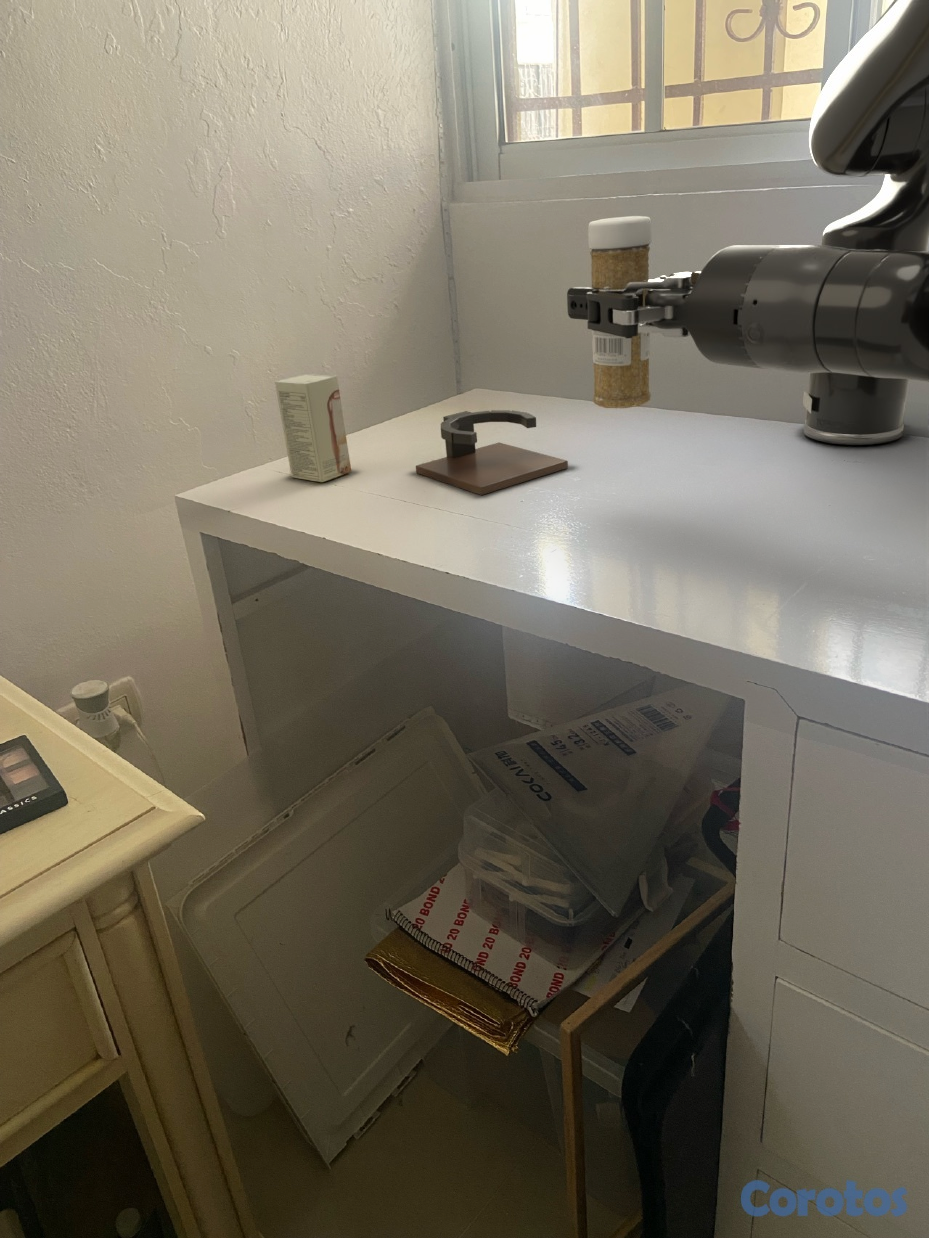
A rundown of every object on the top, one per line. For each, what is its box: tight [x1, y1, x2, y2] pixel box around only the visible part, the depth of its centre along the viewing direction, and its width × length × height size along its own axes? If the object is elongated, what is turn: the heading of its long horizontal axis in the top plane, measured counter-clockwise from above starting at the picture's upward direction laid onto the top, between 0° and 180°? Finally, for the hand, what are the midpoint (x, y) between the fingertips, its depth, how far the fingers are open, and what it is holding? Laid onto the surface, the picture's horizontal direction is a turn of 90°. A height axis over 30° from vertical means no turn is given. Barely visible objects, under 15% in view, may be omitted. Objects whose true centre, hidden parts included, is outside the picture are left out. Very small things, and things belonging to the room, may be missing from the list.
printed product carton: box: [274, 373, 352, 483], centre depth 93 cm, size 5×4×10 cm
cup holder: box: [415, 409, 569, 496], centre depth 91 cm, size 11×11×5 cm
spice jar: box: [587, 215, 653, 409], centre depth 69 cm, size 5×5×13 cm
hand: (594, 298), depth 70 cm, fingers closed on spice jar, 4 cm apart
